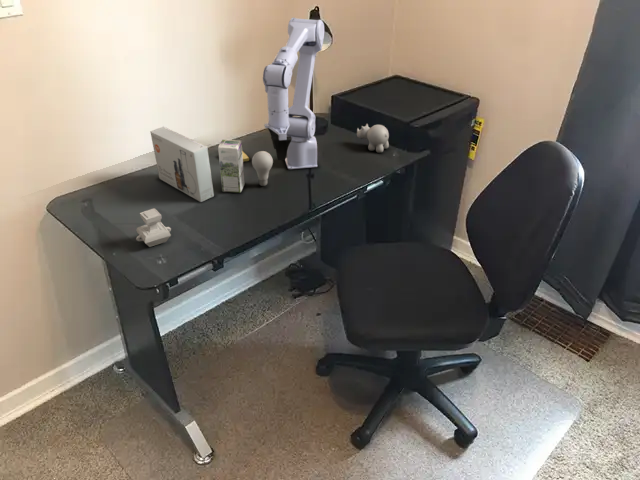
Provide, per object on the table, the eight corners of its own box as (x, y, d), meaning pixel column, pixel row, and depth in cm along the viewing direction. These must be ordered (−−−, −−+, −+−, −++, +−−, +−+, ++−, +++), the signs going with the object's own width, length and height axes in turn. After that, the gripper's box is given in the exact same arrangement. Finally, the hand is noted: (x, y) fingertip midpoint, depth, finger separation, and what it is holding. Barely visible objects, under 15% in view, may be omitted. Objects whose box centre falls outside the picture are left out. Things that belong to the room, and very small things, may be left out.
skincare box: (157, 179, 172) (149, 130, 164) (172, 173, 176) (165, 125, 167) (199, 203, 160) (193, 151, 152) (214, 196, 164) (209, 145, 155)
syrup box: (245, 184, 170) (242, 139, 163) (240, 193, 166) (237, 147, 158) (226, 183, 171) (222, 138, 163) (221, 192, 166) (217, 146, 158)
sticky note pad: (241, 151, 190) (240, 149, 189) (249, 160, 184) (249, 157, 184) (219, 156, 187) (219, 153, 187) (227, 165, 181) (226, 162, 181)
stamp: (167, 230, 148) (162, 202, 144) (176, 242, 144) (172, 213, 139) (133, 240, 144) (127, 212, 139) (142, 253, 139) (136, 224, 135)
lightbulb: (257, 192, 166) (256, 157, 160) (250, 183, 171) (248, 149, 165) (276, 188, 169) (275, 154, 163) (268, 179, 173) (267, 146, 167)
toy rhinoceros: (362, 139, 200) (364, 116, 195) (391, 148, 194) (393, 124, 189) (351, 146, 195) (352, 122, 190) (380, 155, 189) (382, 131, 184)
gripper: (260, 100, 162) (262, 144, 169) (267, 119, 150) (269, 165, 158) (284, 99, 163) (285, 143, 171) (293, 117, 151) (294, 163, 159)
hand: (279, 153), depth 164 cm, fingers open, 7 cm apart
